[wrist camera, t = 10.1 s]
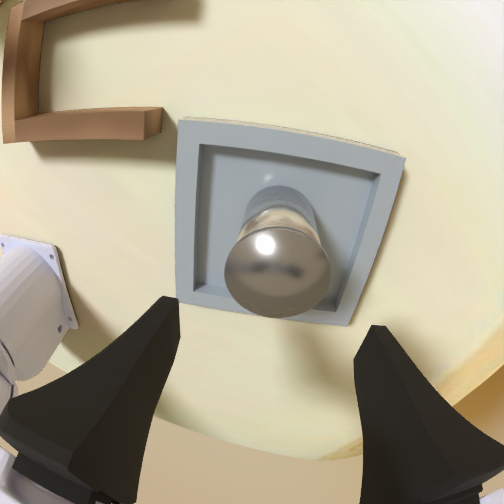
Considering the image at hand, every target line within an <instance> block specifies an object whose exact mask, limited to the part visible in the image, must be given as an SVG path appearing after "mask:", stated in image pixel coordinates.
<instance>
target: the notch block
mask: <svg viewBox="0 0 504 504" xmlns="http://www.w3.org/2000/svg"><path fill="white" fill-rule="evenodd" d="M128 1H134V0H26V1H24V2H22V3H20V4H18V5H16V6H14V7H12V8H11V10H10V16H9V21H8V27H7V34H6V41H5V50H4V60H3V74H2V131H3V144H6V143H16V142H29V141H45V140H69V139H126V140H145V139H147V138H149V137H152V136H154V135H156V134H158V133H161V128H162V111H163V107H116V108H94V109H79V110H68V111H58V112H49V113H41V114H38V86H39V67H40V55H41V45H42V37H43V30H44V23H45V22H47V21H50V20H53V19H56V18H60V17H63V16H66V15H70V14H73V13H77V12H81V11H84V10H88V9H93V8H97V7H101V6H106V5H111V4H116V3H122V2H128Z"/></svg>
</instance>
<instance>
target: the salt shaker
mask: <svg viewBox="0 0 504 504" xmlns="http://www.w3.org/2000/svg"><path fill="white" fill-rule="evenodd" d="M224 278H225V283H226V286H227V289H228V291H229V293H230V294H231V296H232V297H233V298H234V299H235V301H236V302H237V303H238V304H240V305H241V306H242V307H244V308H245V309H247V310H248V311H250V312H252V313H255V314H257V315H261V316H264V317H270V318H286V317H292V316H296V315H299V314H302V313H304V312H306V311H308V310H310V309H311V308H313V307H314V306H315V305H317V304H318V303H319V302H320V301H321V300H322V298H323V297H324V296H325V294H326V292H327V291H328V288H329V285H330V281H331V267H330V263H329V259H328V256H327V254H326V252H325V250H324V249H323V247H322V246H321V244H320V239H319V235H318V230H317V226H316V222H315V217H314V213H313V209H312V206H311V204H310V202H309V201H308V199H307V198H306V197H305V196H304V195H303V194H302V193H301V192H299V191H298V190H296V189H294V188H291V187H288V186H281V185H277V186H270V187H267V188H264V189H262V190H260V191H259V192H257V193H256V194H255V195H254V196H253V197H252V198H251V199H250V201H249V203H248V205H247V207H246V210H245V214H244V217H243V221H242V225H241V228H240V232H239V235H238V239H237V243H236V244H235V245H234V246H233V248H232V249H231V251H230V253H229V255H228V258H227V261H226V264H225V269H224Z"/></svg>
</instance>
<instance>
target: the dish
mask: <svg viewBox="0 0 504 504" xmlns="http://www.w3.org/2000/svg"><path fill="white" fill-rule="evenodd" d="M405 160H406V158H405V157H403V156H402V155H400V154H399V153H397V152H394V151H391V150H387V149H383V148H380V147H376V146H372V145H368V144H364V143H360V142H356V141H351V140H347V139H343V138H338V137H333V136H329V135H324V134H319V133H313V132H308V131H303V130H297V129H291V128H285V127H279V126H272V125H265V124H257V123H250V122H241V121H232V120H222V119H211V118H198V117H185V118H182V119H179V121H178V137H177V156H176V182H175V276H176V298H177V299H179V303H184V304H190V305H195V306H201V307H207V308H213V309H219V310H225V311H231V312H237V313H244V314H250V315H257V314H255V313H252V312H250V311H248V310H247V309H245V308H244V307H242V306H241V305H240V304H238V303H237V302H236V301H235V299H234V298H233V297H232V296H231V294H230V293H229V291H228V289H227V286H226V283H225V278H224V269H225V264H226V261H227V258H228V255H229V253H230V251H231V249H232V248H233V246H234V245H235V244H236V243H237V239H238V235H239V232H240V228H241V225H242V221H243V217H244V214H245V210H246V207H247V205H248V203H249V201H250V199H251V198H252V197H253V196H254V195H255V194H256V193H257V192H259V191H260V190H262V189H264V188H267V187H270V186H277V185H281V186H288V187H291V188H294V189H296V190H298V191H299V192H301V193H302V194H303V195H304V196H305V197H306V198H307V199H308V201H309V202H310V204H311V206H312V209H313V213H314V217H315V222H316V226H317V230H318V235H319V239H320V244H321V246H322V247H323V249H324V250H325V252H326V254H327V256H328V259H329V263H330V267H331V281H330V285H329V288H328V291H327V292H326V294H325V296H324V297H323V298H322V300H321V301H320V302H319V303H318V304H317V305H315V306H314V307H313V308H311V309H310V310H308V311H306V312H304V313H302V314H299V315H296V316H292V317H286V318H279V319H286V320H294V321H302V322H310V323H319V324H328V325H337V326H348V323H349V321H350V319H351V317H352V314H353V312H354V310H355V307H356V305H357V303H358V300H359V298H360V295H361V293H362V290H363V288H364V285H365V283H366V280H367V278H368V275H369V273H370V270H371V267H372V265H373V262H374V259H375V257H376V254H377V251H378V248H379V246H380V243H381V240H382V237H383V234H384V231H385V228H386V225H387V222H388V219H389V216H390V213H391V209H392V206H393V203H394V200H395V196H396V193H397V190H398V186H399V183H400V179H401V175H402V172H403V168H404V164H405ZM257 316H261V315H257Z"/></svg>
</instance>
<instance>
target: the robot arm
mask: <svg viewBox="0 0 504 504" xmlns="http://www.w3.org/2000/svg"><path fill="white" fill-rule="evenodd" d="M0 246H1V249H2V252H3V256H2V257H1V258H0V436H1V437H2V438H3V439H4V440H5V441H6V442H7V443H9V444H10V445H11V446H12V447H13V448H15V449H16V450H17V451H18V452H19V453H18V455H17V457H15V456H14V455H12V454H11V453H9V452H8V451H6V450H5V449H4V448H2V447H1V446H0V504H111V503H112V504H133V503H135V502H136V499H137V491H138V484H139V477H140V472H141V466H142V461H143V456H144V451H145V446H146V442H147V438H148V433H149V429H150V425H151V422H152V418H153V414H154V411H155V408H156V406H157V403H158V400H159V398H160V395H161V393H162V390H163V388H164V385H165V383H166V380H167V378H168V375H169V372H170V370H171V367H172V365H173V362H174V359H175V356H176V352H177V348H178V344H179V340H180V321H179V299H177V298H172V297H166V296H162V297H160V298H159V299H158V300H157V301H156V302H155V303H154V304H153V305H152V306H151V307H150V308H149V309H148V310H147V311H146V312H145V313H144V314H143V315H142V316H141V317H140V318H139V319H138V320H137V321H136V322H135V323H134V324H133V325H132V326H130V327H129V328H128V329H127V330H126V331H125V332H124V333H123V334H122V335H120V336H119V337H118V338H117V339H116V340H114V341H113V342H112V343H111V344H110V345H108V346H107V347H106V348H105V349H103V350H102V351H101V352H100V353H98V354H97V355H95V356H94V357H93V358H91V359H90V360H88V361H87V362H85V363H84V364H82V365H81V366H79V367H78V368H76V369H74V370H73V371H71V372H69V373H68V374H66V375H64V376H62V377H61V378H58V379H56V380H55V381H53V382H50V383H48V384H46V385H44V386H42V387H40V388H38V389H36V390H33V391H31V392H28V393H25V394H22V395H19V396H18V388H17V386H16V383H15V381H16V380H18V381H25V380H29V379H31V378H33V377H34V376H36V375H37V374H39V373H40V372H41V371H42V369H43V368H44V367H45V365H46V364H47V362H48V361H49V359H50V357H51V356H52V354H53V353H54V351H55V349H56V348H57V346H58V345H59V343H60V342H61V340H62V339H63V337H64V336H65V334H66V333H67V331H68V330H69V328H71V329H74V330H77V328H78V327H79V326H78V323H77V320H76V317H75V314H74V311H73V308H72V304H71V301H70V298H69V295H68V291H67V288H66V284H65V281H64V277H63V273H62V269H61V265H60V261H59V257H58V253H57V249H56V247H55V246H54V245H52V244H47V243H42V242H37V241H32V240H27V239H23V238H18V237H13V236H8V235H4V234H1V235H0ZM354 382H355V389H356V395H357V401H358V407H359V413H360V419H361V426H362V434H363V476H362V488H361V497H360V503H359V504H504V488H499V489H497V490H495V491H493V492H491V493H489V494H487V495H485V496H483V497H481V498H479V495H478V493H480V492H482V490H483V488H482V483H484V482H486V481H487V480H489V479H490V478H492V477H494V476H495V475H497V474H498V473H500V472H501V471H503V470H504V445H502V444H501V443H499V442H497V441H496V440H494V439H492V438H491V437H489V436H487V435H486V434H484V433H483V432H482V431H480V430H479V429H478V428H476V427H475V426H473V425H472V424H471V423H470V422H469V421H467V420H466V419H465V418H464V417H462V416H461V415H460V414H459V413H458V412H457V411H456V410H455V409H454V408H453V407H452V406H451V405H450V404H449V403H448V402H447V401H446V400H445V399H444V398H443V397H442V396H441V395H440V394H439V393H438V392H437V391H436V390H435V389H434V387H433V386H432V385H431V384H430V383H429V382H428V380H427V379H426V378H425V377H424V376H423V374H422V373H421V372H420V370H419V369H418V368H417V367H416V365H415V364H414V363H413V361H412V360H411V359H410V357H409V356H408V355H407V353H406V352H405V351H404V349H403V348H402V347H401V345H400V344H399V343H398V341H397V340H396V339H395V337H394V336H393V335H392V333H391V332H390V331H389V330H388V328H387V327H386V326H379V325H371V327H370V329H369V331H368V333H367V335H366V337H365V339H364V341H363V343H362V345H361V346H360V348H359V350H358V352H357V354H356V356H355V358H354Z"/></svg>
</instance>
